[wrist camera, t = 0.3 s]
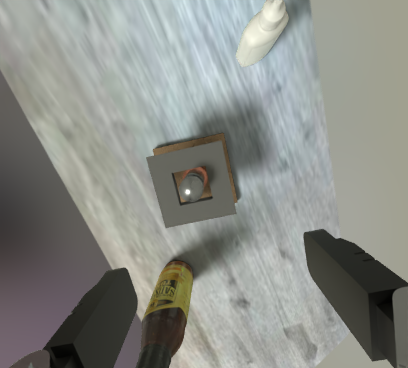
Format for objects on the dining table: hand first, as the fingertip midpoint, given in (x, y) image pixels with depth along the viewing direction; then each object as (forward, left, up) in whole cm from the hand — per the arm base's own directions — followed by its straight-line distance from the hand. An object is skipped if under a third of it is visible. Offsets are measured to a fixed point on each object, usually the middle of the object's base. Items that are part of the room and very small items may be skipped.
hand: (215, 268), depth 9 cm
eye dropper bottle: (-17, +10, -28) cm, 34 cm away
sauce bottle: (+18, -11, -28) cm, 35 cm away
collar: (0, -3, -20) cm, 21 cm away
